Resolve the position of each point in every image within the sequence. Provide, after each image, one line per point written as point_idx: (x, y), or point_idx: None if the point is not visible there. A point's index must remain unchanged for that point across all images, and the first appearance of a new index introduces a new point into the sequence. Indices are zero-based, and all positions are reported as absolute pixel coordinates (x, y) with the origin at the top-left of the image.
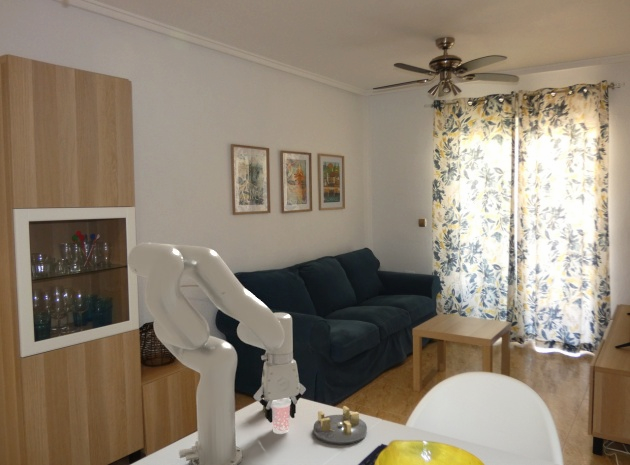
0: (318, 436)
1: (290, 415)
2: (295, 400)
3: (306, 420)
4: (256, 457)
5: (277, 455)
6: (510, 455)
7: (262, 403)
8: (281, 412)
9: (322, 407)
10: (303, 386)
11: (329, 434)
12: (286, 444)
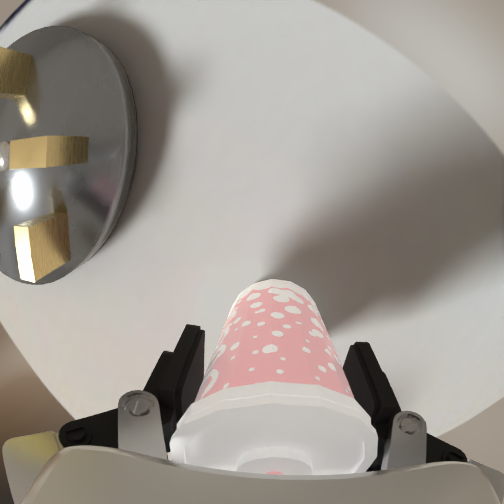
0: (129, 116)
1: (203, 357)
2: (130, 416)
3: (117, 339)
4: (483, 149)
5: (408, 97)
6: None
7: (454, 450)
8: (310, 359)
9: (48, 377)
10: (9, 475)
11: (79, 87)
12: (320, 167)
